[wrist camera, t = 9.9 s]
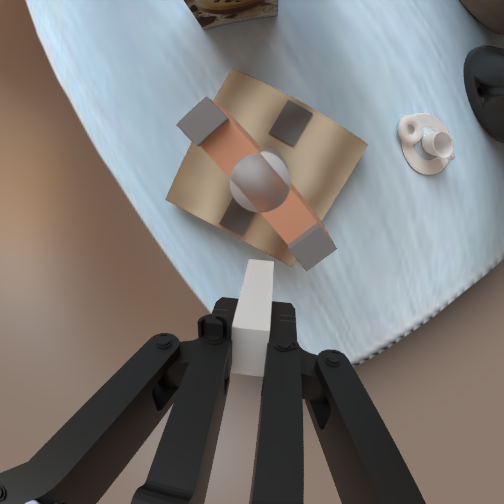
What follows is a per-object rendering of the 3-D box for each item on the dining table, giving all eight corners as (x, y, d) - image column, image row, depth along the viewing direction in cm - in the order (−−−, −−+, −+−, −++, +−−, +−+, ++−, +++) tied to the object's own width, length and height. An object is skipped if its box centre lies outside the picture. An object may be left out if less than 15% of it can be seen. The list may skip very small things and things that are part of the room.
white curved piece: (384, 126, 28) (398, 125, 24) (426, 96, 25) (442, 93, 22) (419, 186, 30) (435, 192, 26) (457, 154, 28) (475, 158, 24)
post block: (359, 143, 28) (380, 145, 23) (290, 256, 34) (293, 281, 28) (236, 74, 27) (227, 59, 21) (174, 194, 32) (152, 207, 26)
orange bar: (199, 134, 23) (168, 132, 16) (232, 105, 22) (214, 89, 15) (291, 238, 27) (298, 276, 19) (324, 212, 25) (345, 242, 18)
